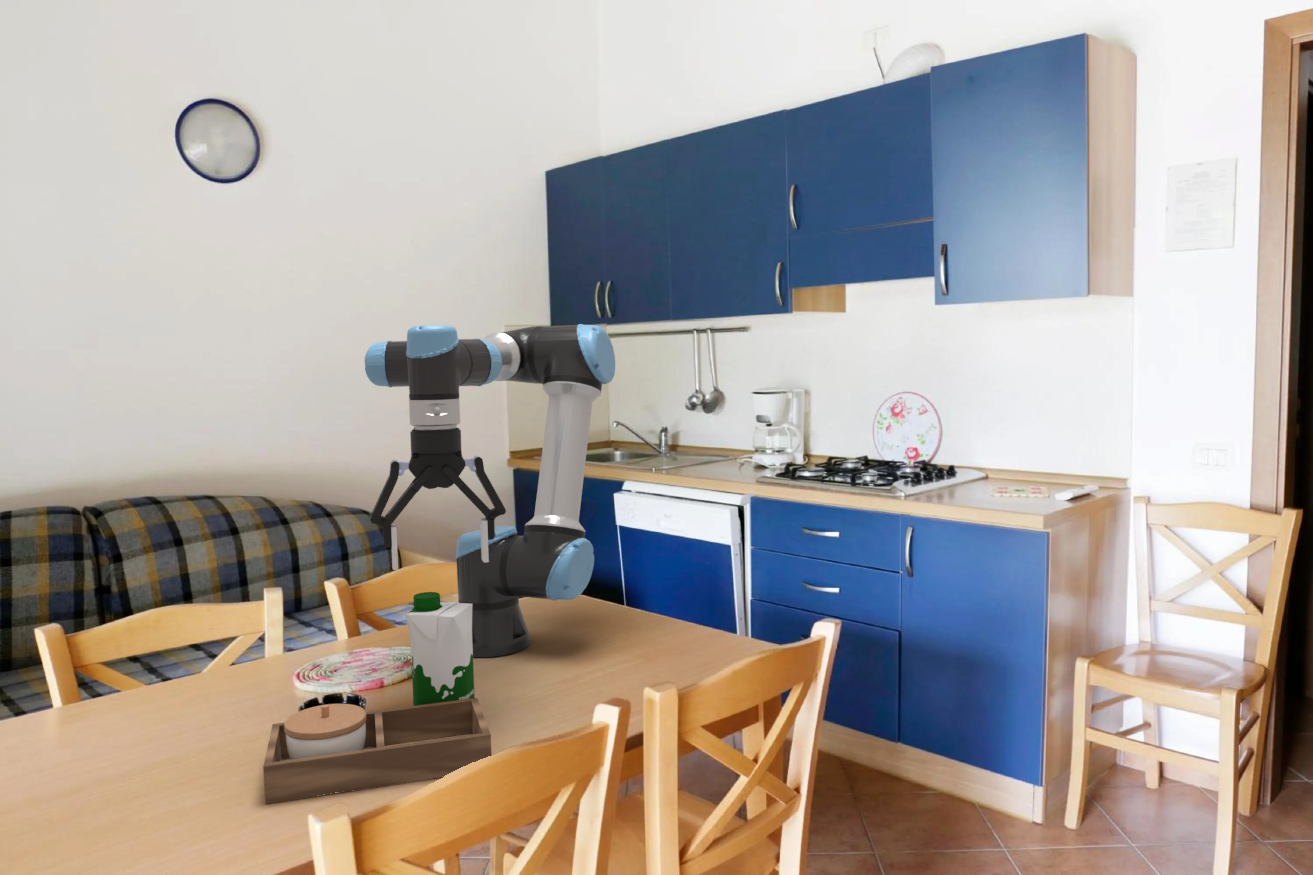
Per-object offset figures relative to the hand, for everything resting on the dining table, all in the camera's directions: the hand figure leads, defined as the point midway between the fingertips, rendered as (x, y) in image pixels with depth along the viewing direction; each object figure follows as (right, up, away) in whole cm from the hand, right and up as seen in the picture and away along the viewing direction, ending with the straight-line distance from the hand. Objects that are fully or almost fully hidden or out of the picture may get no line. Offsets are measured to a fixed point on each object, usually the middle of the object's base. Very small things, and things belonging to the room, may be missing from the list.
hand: (440, 564), depth 147 cm
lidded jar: (-12, -27, -15) cm, 33 cm away
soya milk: (0, -25, +2) cm, 25 cm away
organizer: (-5, -26, -13) cm, 30 cm away
